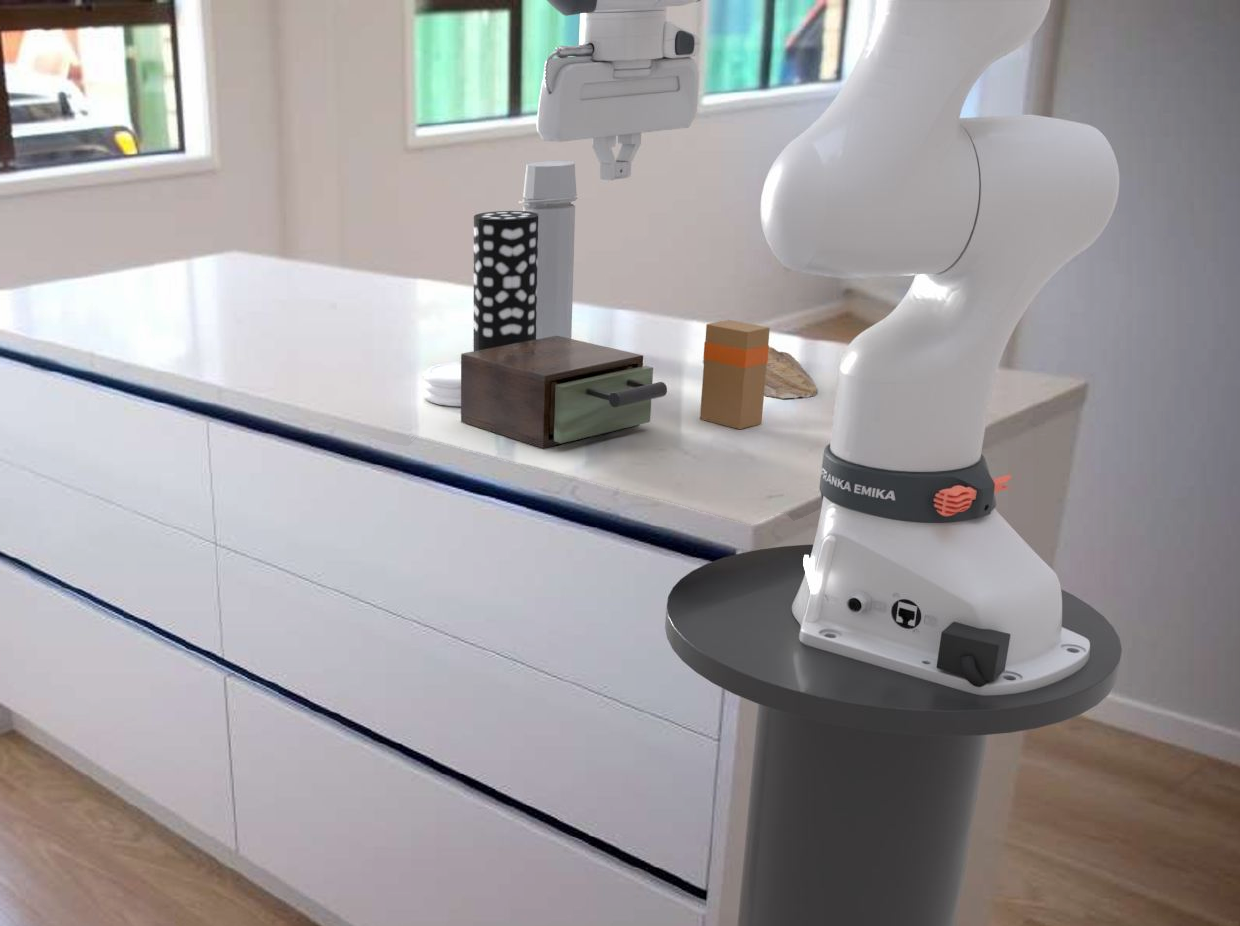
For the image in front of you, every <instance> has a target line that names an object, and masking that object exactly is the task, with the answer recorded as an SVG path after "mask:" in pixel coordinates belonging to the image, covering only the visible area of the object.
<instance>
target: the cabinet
mask: <svg viewBox="0 0 1240 926" xmlns="http://www.w3.org/2000/svg"><path fill="white" fill-rule="evenodd" d="M460 359H461V360H460V362H461V406H460V422H461V423H465V424H467V425H470V426H473V427H475V428H480V429H481V430H486V431H489V432H492V433H495V434H498V435H500V436H505V437H508V438H511V439H514V440H517V441H520V442H523V443H526V444H529V445H532V446H535V447H538V448H541V449H545V448H549V447H553V446H559V445H563V444H566V443H570V442H575V441H578V440H579V441H580V440H583V439H586V438H588V437H585V438H581V439H577V440H573V441H569V442H564V443H558V442H555V441H554V434H552V435H550V434H549V404H550V381H555V380H560V379H565V378H569V377H574V376H579V375H584V374H588V373H593V372H598V371H603V370H607V369H612V368H617V367H622V366H626V365H629V366H632V369H633V368H637V367H642V366H644V355H643V354H639V353H635V352H630V351H627V350H621V349H617V348H613V347H610V346H609V347H608V346H604V345H599V344H595V343H591V342H586V341H582V340H578V339H573V338H571V339H569V338H565V337H560V336H552V337H547V338H541V339H536V340H531V341H526V342H520V343H515V344H510V345H505V346H499V347H494V348H489V349H484V350H478V351H474V350H473V351H468V352H464V353H463V352H462V353H461V354H460ZM636 426H637V427H638V425H636ZM636 426H635V427H636ZM633 427H634V426H631V427H627V428H623V429H619V430H615V431H614V432H616V431H621V430H625V429H628V428H633ZM612 432H613V431H610V432H606V433H602V434H598V435H594V436H590V437H589V438H591V437H595V436H599V435H603V434H608V433H612Z"/></svg>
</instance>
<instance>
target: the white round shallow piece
mask: <svg viewBox="0 0 1240 926" xmlns="http://www.w3.org/2000/svg"><path fill="white" fill-rule="evenodd" d="M423 379H424V382H423V388H424V391H423V396H424V397H425V399H426V400H427V401H428V402H430V403H432V404H436V405H440V406H447V407H461V361H452V362H445V363H439V364H435V365H432V366H430V367H428V368H427V369H426V370H425V371H424V373H423Z"/></svg>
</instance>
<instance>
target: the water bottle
mask: <svg viewBox="0 0 1240 926" xmlns="http://www.w3.org/2000/svg"><path fill="white" fill-rule="evenodd" d="M576 179H577V178H576V164H575V163H574V162H573V161H566V160H559V161H558V160H552V161H551V160H550V161H536V162H530V163H526V166H525V176H524V183H523V184H524V185H523V194H522V197H523V198H522V200H519V201H518V204H526V205H523V206H522V211H528V212H535V213H538V214H539V217H538V268H537V319H536V339H541V338H547V337H552V336H560V337H565V338H569V339H572V330H573V329H572V327H573V300H574V299H573V298H574V297H573V295H574V293H573V292H574V265H575V263H574V261H575V230H576V229H575V227H576V205H575V204H573V203H572V202H575V201H577V200H578V197H577V194H578V193H577V180H576Z"/></svg>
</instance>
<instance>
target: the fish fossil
mask: <svg viewBox="0 0 1240 926" xmlns="http://www.w3.org/2000/svg"><path fill="white" fill-rule="evenodd" d="M703 362H704V359H703ZM813 380H814V379H812V377H811V376H810V375H809V374H808V373H807V371H806V370H805V368H803V367H802V365H801V364H800V362H798V361H797V360H796V358H795V357H793V355H792V354H790V353H789V352H785V351H778V350H777V349H775V348H774V347H772V346H769V351H768V363H767V366H766V377H765V389H764V396H765V397H769V398H770V397H771V398H778V399H781V400H782V399H783V400H784V399H795V400H796V399H798V398H810V397H815V396H816V394H817V392H818V388H817V385H816V384H815V381H813Z"/></svg>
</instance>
